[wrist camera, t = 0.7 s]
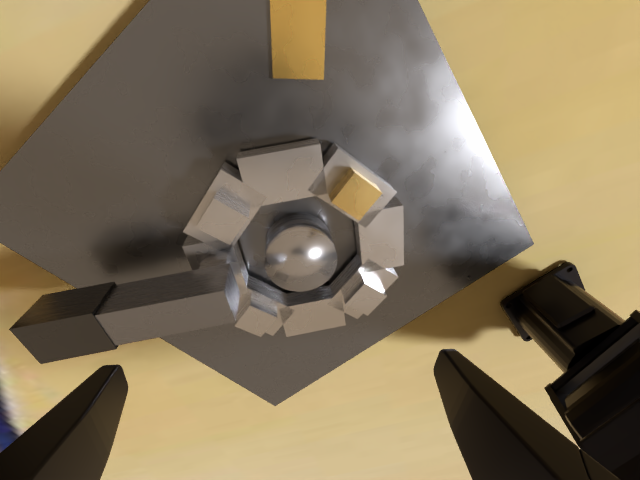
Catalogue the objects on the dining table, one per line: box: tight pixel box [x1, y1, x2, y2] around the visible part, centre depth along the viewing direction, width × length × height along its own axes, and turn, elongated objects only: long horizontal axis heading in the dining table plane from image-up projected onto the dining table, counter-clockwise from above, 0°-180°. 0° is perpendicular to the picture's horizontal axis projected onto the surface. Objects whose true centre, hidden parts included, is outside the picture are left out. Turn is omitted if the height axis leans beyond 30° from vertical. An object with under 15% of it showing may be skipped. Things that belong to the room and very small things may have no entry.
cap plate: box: [0, 0, 534, 406], centre depth 20 cm, size 26×26×3 cm
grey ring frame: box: [9, 138, 404, 364], centre depth 19 cm, size 21×13×5 cm, turn 98°
